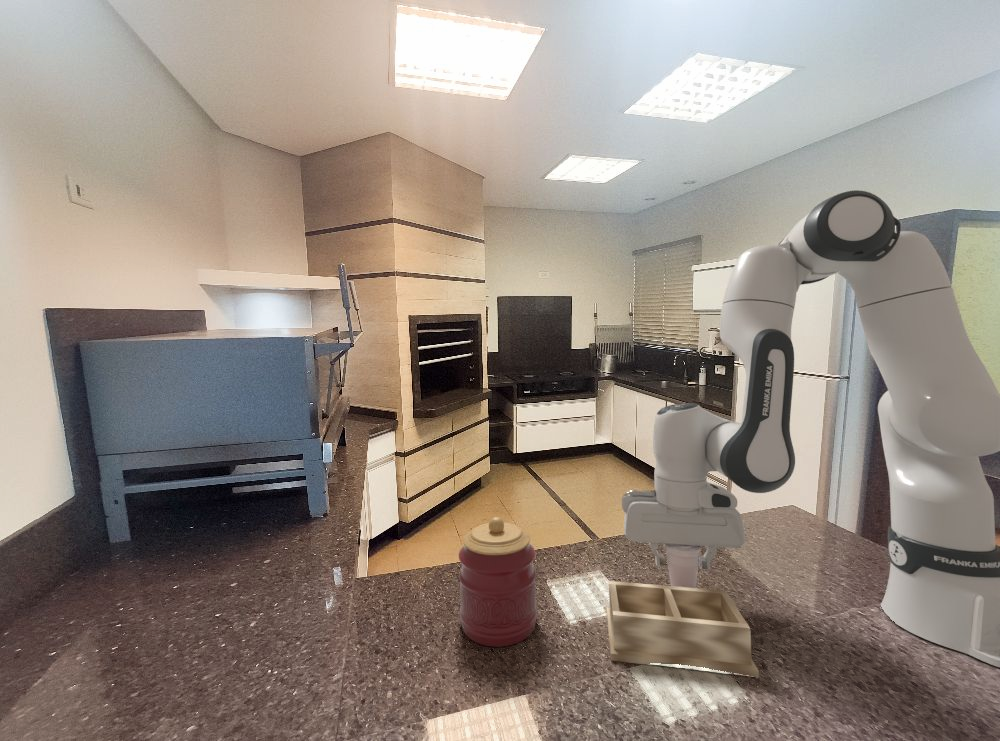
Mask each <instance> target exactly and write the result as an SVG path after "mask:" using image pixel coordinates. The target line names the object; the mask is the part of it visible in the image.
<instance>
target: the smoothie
mask: <svg viewBox="0 0 1000 741" xmlns="http://www.w3.org/2000/svg"><path fill="white" fill-rule="evenodd" d="M662 547H663V549H664V551H665V556H666V557H665V558H666V561H667V562H666V563H667V567H668V568H667V569H668V575H669V581H670V582H669V583H670V586H677V587H689V588H697V581H698V580H697V579H698V572H699V571H698V570H699V562H700V561H699V556H701V555H702V546H695V545H679V544H663V546H662Z"/></svg>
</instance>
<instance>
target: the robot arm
mask: <svg viewBox="0 0 1000 741" xmlns="http://www.w3.org/2000/svg"><path fill="white" fill-rule="evenodd" d="M901 227H902V226H901V222H900V220H899V219H898V218H896V217H895V216H894V214H893V212H892V210H891V208H890V207H889V205H888V204H887V203H886V202H885V201H884V200H883V199H882V198H880V197H879V196H877V195H876V194H874V193H871V192H868V191H866V190H848V191H845V192H841V193H838V194H835V195H833V196H831V197H828V198H827V199H825V200H823V201H822V202H820V203H818V204H817V205H816V206H815V207H814V208H812V210H811V211H810V212H808V214H806V215H804V217H802V218H801V219H799V221H798V222H797V223H795V225H794V226H793V227H792V229H791V230H790V231H789V233H787V235H786V236H785V237H784V238H783V239H782V240H781V241H780V242H779V243H778V244H763V245H757V246H755V247H751V248H749V249H747V250H745V251H744V252H742V253H741V254H740V255H739V256H738V257H737V260H736V262H735V264H734V266H733V269H732V271H731V273H730V276H729V278H728V282H727V286H726V289H725V292H724V296H723V300H722V304H721V310H720V316H719V338H720V340H721V343H723V345H724V346H725V347H726V348H727V349H728V350H729V351H730V352H732V353H733V354H735V355H736V356H737V357H738V358H739V360H741V363H742V365H743V367H744V370H745V378H746V379H745V386H744V396H743V407H742V415H741V420H740V422H737V421H733V420H730V419H727V418H724V417H722V416H719V415H716V414H714V413H712V412H710V411H708V410H707V409H705V408H703V407H702V406H700V405H699V404H697V403H694V402H685V403H682V402H681V403H675V404H670V405H666V406H664V407H662V408H660V409H659V410H658V411H657V413H656V415H655V418H654V422H653V423H654V424H653V449H652V450H653V454H654V456H655V457H654V458H655V466H654V467H655V468H654V475H653V478H654V481H653V482H654V483H653V485H654V490H649V489H648V490H647V489H646V490H644V489H643V490H637V489H630V490H629V491H628V492H625V493H624V494H623V496H622V497H621V507H622V508H621V509H622V510H623V512H624V519H623V520H624V521H623V532H624V536H625V537H626V539H627V540H628V541H629V542H632V543H633V542H634V543H635V542H636V543H648V546H649V548H650V550H651V552H652V553H653V554H654V557H655V558H654V562H655V565H656V567H666V557H665V555H664V553H659V551H658V550H657V549H659V544H663V545H664V544H679V545H695V546H701V547H705V548H706V551H705V553H704V554H703V556H702V555H699V563H698V567H699V568H700V570H704V571H711V561H712V560H713V559H714V557H715V556H716V555H717V553H718V548H727V549H728V548H730V549H740V548H742V546H744V544H745V542H746V535H745V534H746V533H745V529H744V528H745V527H744V520H743V518H742V515H741V513H740V512H739V511H738V510H737V509H736V508H737V507H738V499H737V497H736V496H735V495H734V494H733V493H732V492H731V491H729V490H728V489H727V488H725V487H723V486H721V485H718V484H714V483H711V482H709V481H708V480H707V476H708V475H707V474H709V473H710V472H717V473H720V474H721V475H723V476H724V477H727V479H729V480H730V481H731V482H732V483H733V484H735V485H736V486H737V487H738V488H740V489H742V490H744V491H746V492H750V493H753V494H765V493H770V492H773V491H775V490H778V489H779V488H781V487H782V486H784V485H785V484H786V483H787V482H788V481H789V479H790V478H791V477H792V475H793V473H794V470H795V466H796V455H795V454H796V453H795V451H794V450H795V448H794V445H793V441H792V436H791V428H790V427H791V425H790V424H791V411H792V401H793V400H792V399H793V398H792V397H793V389H794V388H793V386H794V373H795V350H794V345H793V342H792V326H793V318H794V312H795V311H794V310H795V306H796V301H797V292H798V291H799V288H800V286H801V285H808V284H814V283H817V282H818V283H819V282H820V281H823V280H825V279H827V278H828V277H829V278H830V276H833V275H835V274H838V275H839V276H841V277H843V279H845V280H846V281H847V282H848V283H849V284H850V285H849V286H850V287H851V288H852V290H853V292H854V298H855V302H856V306H857V309H858V310H857V311H858V313H859V317H860V321H861V325H862V329H863V332H864V335H865V340H866V343H867V346H868V350H869V354H870V355H871V357H872V358H873V360H874V363H875V364H876V366H877V369H878V371H879V372H880V374H881V377H882V379H883V381H884V384H885V386H886V388H887V390H886V391H885V392H884V393H883V394H882V396H880V398H879V401H878V404H877V414H878V419H879V426H880V435H881V441H882V448H883V455H884V458H885V459H884V460H885V464H886V468H887V473H888V481H889V498H890V499H889V501H890V525H889V526H888V527H887V549H888V557H889V562H890V565H889V575H888V580H887V586H886V589H885V594H884V597H883V598H882V601H881V602H880V605H881V607H882V609H883V610H884V612H885V613H886V614H887V615H888V616H889V617H890V619H891V620H892V621H891V620H890V619H889V620H890V621H891V622H893V621H894V622H895V623H894V622H893V623H894V624H895V625H897V626H899V627H901V628H902V629H904V630H905V631H907V632H909V633H911V634H913V635H915V636H918V637H920V638H922V639H924V640H926V641H929V642H931V643H933V644H937V645H939V646H942V647H945V648H949V649H951V650H954V651H957V652H960V653H962V654H963V653H964V654H966V655H969V656H971V657H973V658H976V659H977V660H980V661H982V662H984V663H987V664H989V665H991V666H994V667H997V668H1000V545H998V544H996V530H995V529H996V526H995V523H996V522H995V504H994V503H995V499H994V494H993V491H992V489H991V487H990V485H989V483H988V482H987V479H986V476H985V474H984V470H983V467H982V465H981V461H980V458H979V457H985V456H988V455H993V454H995V453H999V452H1000V392H999V390H998V389H997V386H996V385H995V383H994V380H993V379H992V377H991V375H990V373H989V372H988V370H987V367H986V366H985V365H984V363H983V361H982V360H981V358H980V356H979V355H978V353H977V352H976V350H975V348H974V346H973V345H972V342H971V340H970V338H969V336H968V333H967V331H966V327H965V325H964V322H963V318H962V315H961V313H960V309H959V305H958V302H957V299H956V296H955V293H954V289H953V287H952V283H951V280H950V277H949V275H948V271H947V270H946V267H945V264H944V263H943V261H942V259H941V257H940V254H938V252H937V250H936V248H935V247H934V246H933V244H932V242H931V241H930V240H929V239H928V237H927V236H926V235H924V234H923V233H920V232H917V231H913V230H910V231H909V230H902V231H901ZM881 607H880V608H881Z"/></svg>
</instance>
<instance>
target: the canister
mask: <svg viewBox="0 0 1000 741" xmlns="http://www.w3.org/2000/svg"><path fill="white" fill-rule="evenodd" d="M530 536H531V535H530V534H529V533H528V532H527V531H526V530H524V529H522V528H521V527H519V526H518V525H516V524H513V523H509V522H504V520H503V518H501V517H499V516H494V517H491V519H490V520H489V522H486V523H482V524H479V525H477V526H475V527H474V528H473V529H472V530H470V531H469V532H467V533H466V534H465V535H464V537H463V538H462V539H463V540H462V542H463V546H461V548H460V550H459V551H458V559H459V560H458V561H459V562H460V564H461V568H460V569H459V572H458V579H459V584H460V585H459V586H460V588H459V590H460V591H459V592H460V608H459V620H460V623H461V628H462V631H463V633H464V635H465V636H466V637H467V638H468V639H470V640H471V641H473V642H475V643H477V644H480V645H483V646H487V647H496V648H497V647H498V648H499V647H507V646H512V645H514V644H515V645H516V644H518V643H520V642H523V641H524V640H525V639H527V638H528V637H529V636H531V634H532V633H533V632H534V630H535V627H536V623H537V618H538V607H537V603H536V602H537V599H536V597H537V596H536V577H537V570H536V568H535V566H534V564H533V562H534V560H535V558H536V553H537V552H536V549H535V547H534V546H533V545H532V544H531V543H530V542H531V537H530Z"/></svg>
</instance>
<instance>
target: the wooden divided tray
mask: <svg viewBox="0 0 1000 741" xmlns="http://www.w3.org/2000/svg"><path fill="white" fill-rule="evenodd" d="M608 593H609V594H608V595H609V599H608V600H609V603H608V604H609V606H606V610H605V612H606V622H607V630H608V644H609V652H610V660H611V661H613V662H621V663H628V664H629V663H630V664H638V665H644V664H650V663H661V664H679V665H680V664H681V665H688V666H689V665H690V666H696V667H703V668H704V667H705V668H709V669H712V670H713V669H714V670H718V671H719V670H720V671H724V672H725V671H726V672H730V673H731V672H732V673H739V674H743V675H749V676H754V677H759V678H760V671H759V669H758V667H757V665H756V663H755V662H754V660H753V659H752V637H751V636H752V635H751V628H750V626H749V623H748V622H747V621H746V620H745V617H743V615H742V614H741V612H740V610H739V609H738V607H737V605H736V604H735V602H734V601H733V600H732V597H731V596H730V595H729V593H728V592H727V590H726V589H725V590H723V589H713V588H712V589H710V588H698V587H696V588H689V587H677V586H671V585H663V584H651V583H639V582H638V583H637V582H629V581H628V582H626V581H624V582H623V581H617V580H616V581H613V580H608Z"/></svg>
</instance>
